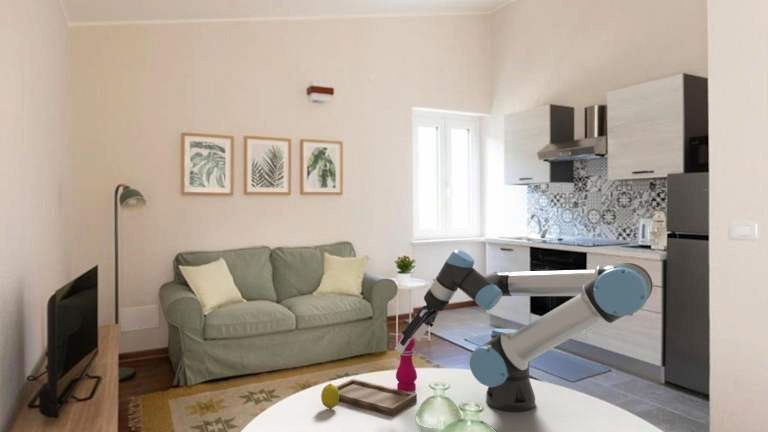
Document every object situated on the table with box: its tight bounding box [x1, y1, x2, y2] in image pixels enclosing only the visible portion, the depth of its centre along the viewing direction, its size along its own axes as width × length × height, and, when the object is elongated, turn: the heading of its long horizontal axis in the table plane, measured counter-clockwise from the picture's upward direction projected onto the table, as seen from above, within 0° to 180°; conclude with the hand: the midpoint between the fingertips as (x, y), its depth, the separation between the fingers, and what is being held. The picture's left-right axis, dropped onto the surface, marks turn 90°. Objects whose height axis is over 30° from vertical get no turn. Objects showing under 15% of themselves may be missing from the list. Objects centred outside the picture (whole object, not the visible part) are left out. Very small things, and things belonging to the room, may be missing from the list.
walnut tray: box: [335, 378, 418, 417], centre depth 165 cm, size 26×14×2 cm, turn 55°
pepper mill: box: [395, 334, 418, 393], centre depth 175 cm, size 7×7×20 cm
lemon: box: [320, 383, 340, 410], centre depth 157 cm, size 6×6×8 cm
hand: (407, 344), depth 167 cm, fingers open, 13 cm apart
